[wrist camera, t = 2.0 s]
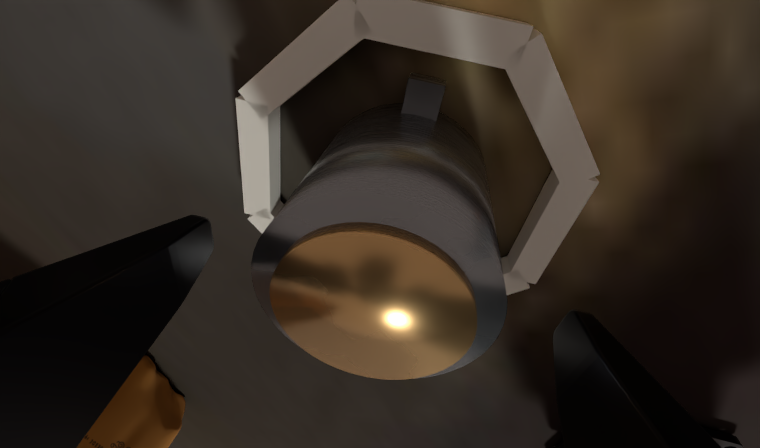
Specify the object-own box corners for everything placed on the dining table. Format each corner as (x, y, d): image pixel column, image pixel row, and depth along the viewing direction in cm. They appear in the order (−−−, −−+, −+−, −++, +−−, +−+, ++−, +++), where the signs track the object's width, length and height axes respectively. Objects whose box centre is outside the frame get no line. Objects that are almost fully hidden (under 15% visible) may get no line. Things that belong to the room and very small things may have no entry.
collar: (658, 50, 9) (677, 57, 8) (498, 322, 15) (500, 339, 14) (242, -39, 9) (224, -40, 8) (259, 262, 15) (249, 276, 15)
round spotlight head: (526, 96, 10) (594, 205, 5) (450, 279, 14) (449, 430, 9) (333, 53, 10) (226, 119, 5) (318, 246, 14) (251, 377, 10)
